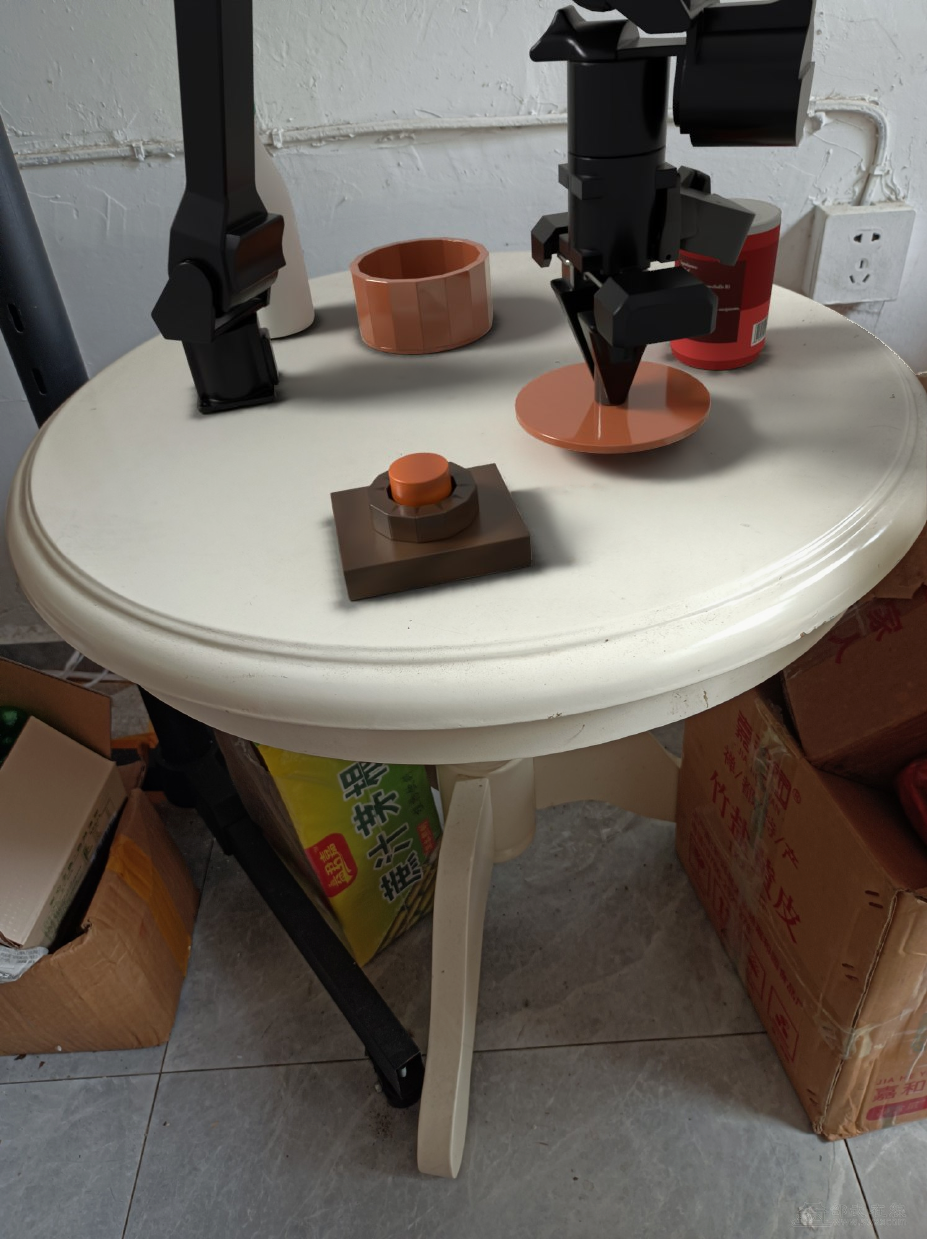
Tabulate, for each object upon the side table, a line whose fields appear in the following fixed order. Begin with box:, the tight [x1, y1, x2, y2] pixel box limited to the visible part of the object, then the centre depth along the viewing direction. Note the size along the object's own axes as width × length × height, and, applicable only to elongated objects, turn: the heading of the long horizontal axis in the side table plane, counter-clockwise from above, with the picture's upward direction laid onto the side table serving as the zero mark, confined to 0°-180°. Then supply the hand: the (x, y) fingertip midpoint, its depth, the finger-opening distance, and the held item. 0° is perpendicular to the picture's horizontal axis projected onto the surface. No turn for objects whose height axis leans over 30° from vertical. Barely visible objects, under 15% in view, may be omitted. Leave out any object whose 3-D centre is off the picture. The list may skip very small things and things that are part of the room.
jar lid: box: [514, 360, 712, 455], centre depth 60 cm, size 14×14×5 cm
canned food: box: [669, 197, 782, 371], centre depth 69 cm, size 8×8×11 cm
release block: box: [329, 461, 533, 601], centre depth 53 cm, size 11×9×4 cm
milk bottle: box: [254, 102, 316, 339], centre depth 80 cm, size 8×8×20 cm
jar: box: [348, 236, 494, 355], centre depth 80 cm, size 13×13×6 cm
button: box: [387, 452, 452, 507], centre depth 51 cm, size 4×4×2 cm
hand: (610, 395), depth 61 cm, fingers closed on jar lid, 2 cm apart
